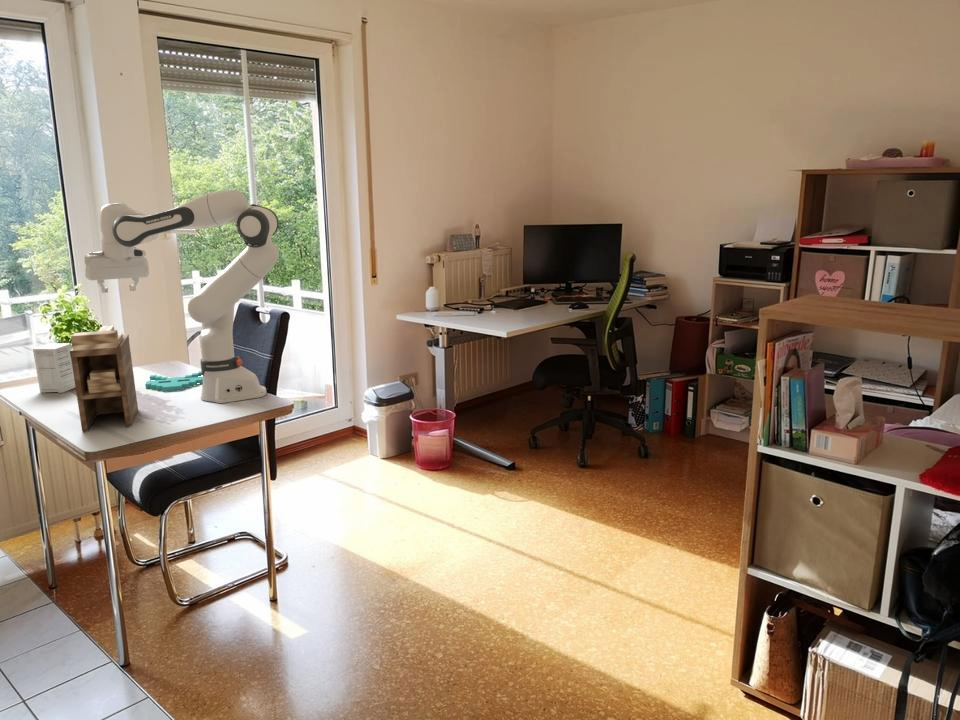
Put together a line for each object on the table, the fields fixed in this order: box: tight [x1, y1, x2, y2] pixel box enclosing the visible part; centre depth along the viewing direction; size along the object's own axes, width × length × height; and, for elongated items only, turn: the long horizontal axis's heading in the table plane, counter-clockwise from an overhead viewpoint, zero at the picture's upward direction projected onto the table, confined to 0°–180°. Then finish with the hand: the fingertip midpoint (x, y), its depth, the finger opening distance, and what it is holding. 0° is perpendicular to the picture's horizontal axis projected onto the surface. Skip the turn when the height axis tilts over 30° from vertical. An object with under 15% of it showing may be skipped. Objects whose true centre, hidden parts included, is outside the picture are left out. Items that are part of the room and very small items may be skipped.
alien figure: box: [144, 370, 203, 393], centre depth 283 cm, size 20×2×20 cm
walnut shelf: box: [70, 334, 139, 433], centre depth 238 cm, size 14×20×26 cm
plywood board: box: [70, 325, 124, 351], centre depth 238 cm, size 12×28×4 cm, turn 18°
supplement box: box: [32, 342, 76, 394], centre depth 276 cm, size 10×9×17 cm
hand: (119, 291), depth 256 cm, fingers open, 8 cm apart
